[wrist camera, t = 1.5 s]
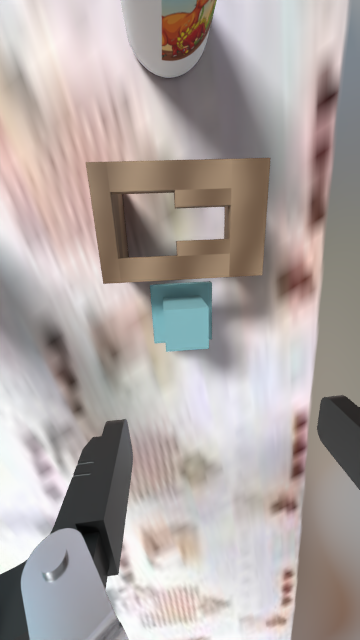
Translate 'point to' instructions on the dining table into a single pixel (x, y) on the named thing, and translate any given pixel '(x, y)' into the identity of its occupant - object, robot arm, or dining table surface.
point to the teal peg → (182, 315)
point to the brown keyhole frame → (189, 192)
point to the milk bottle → (168, 33)
